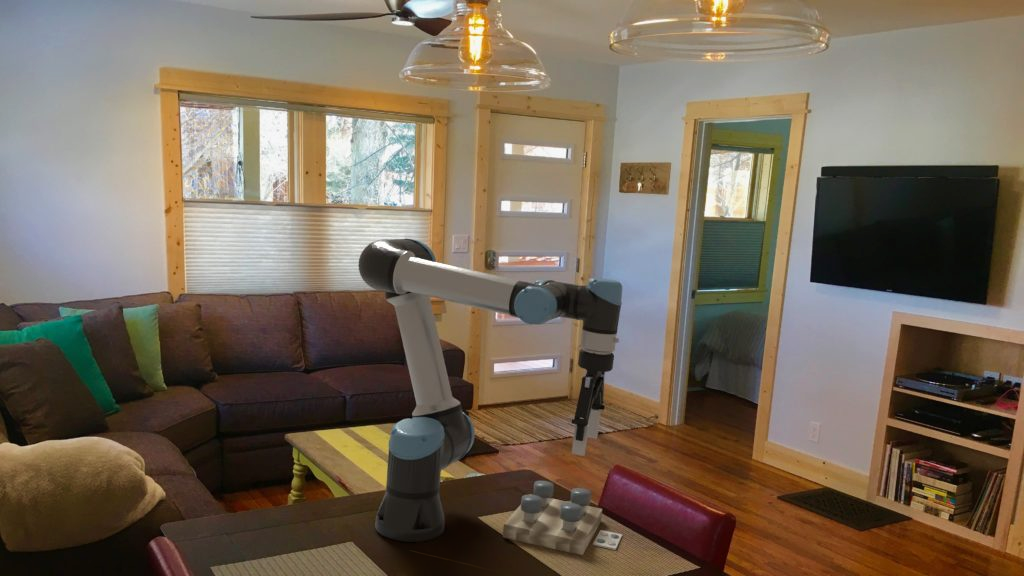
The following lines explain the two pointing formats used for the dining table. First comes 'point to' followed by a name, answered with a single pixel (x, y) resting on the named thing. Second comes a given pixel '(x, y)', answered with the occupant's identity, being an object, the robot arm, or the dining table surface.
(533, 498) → the button
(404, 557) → the dining table surface
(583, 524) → the board
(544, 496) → the button
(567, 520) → the button
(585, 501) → the button
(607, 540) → the tile
